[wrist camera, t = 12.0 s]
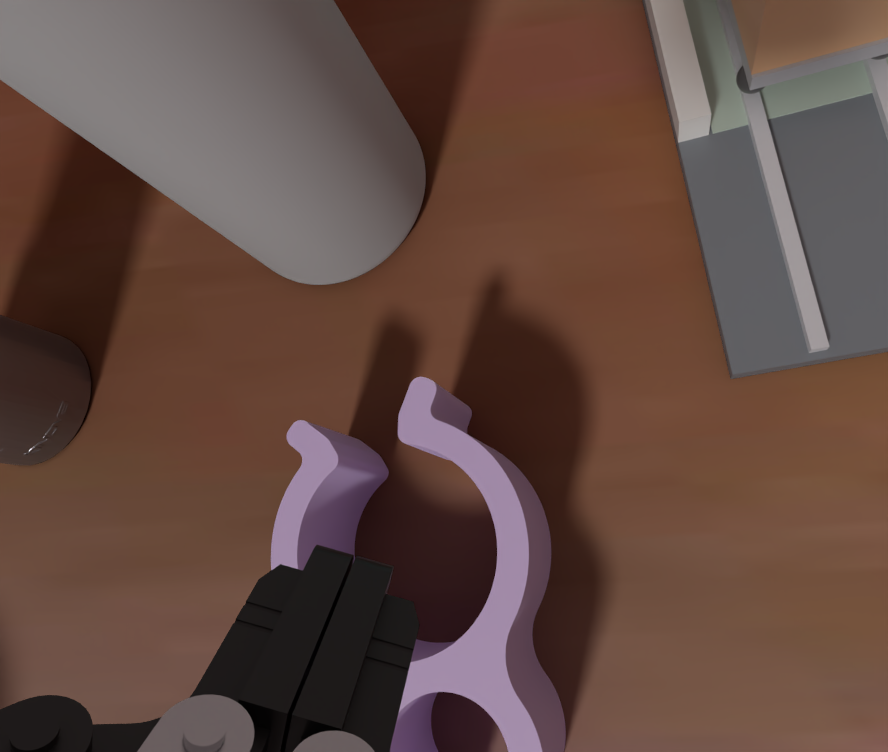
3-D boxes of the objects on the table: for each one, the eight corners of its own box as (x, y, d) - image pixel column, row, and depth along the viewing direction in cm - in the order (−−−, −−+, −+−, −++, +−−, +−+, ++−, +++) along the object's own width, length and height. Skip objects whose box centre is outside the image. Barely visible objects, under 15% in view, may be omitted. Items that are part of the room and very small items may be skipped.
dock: (730, 378, 36) (752, 329, 27) (637, -22, 42) (631, -161, 34) (1050, 323, 32) (1187, 247, 24) (894, -105, 39) (959, -281, 31)
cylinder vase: (445, 257, 42) (178, -96, 19) (260, 311, 45) (-170, 63, 22) (413, 83, 45) (153, -400, 22) (243, 143, 48) (-145, -228, 25)
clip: (627, 774, 34) (619, 830, 27) (390, 827, 36) (331, 889, 30) (505, 386, 39) (475, 356, 33) (309, 455, 42) (245, 439, 36)
